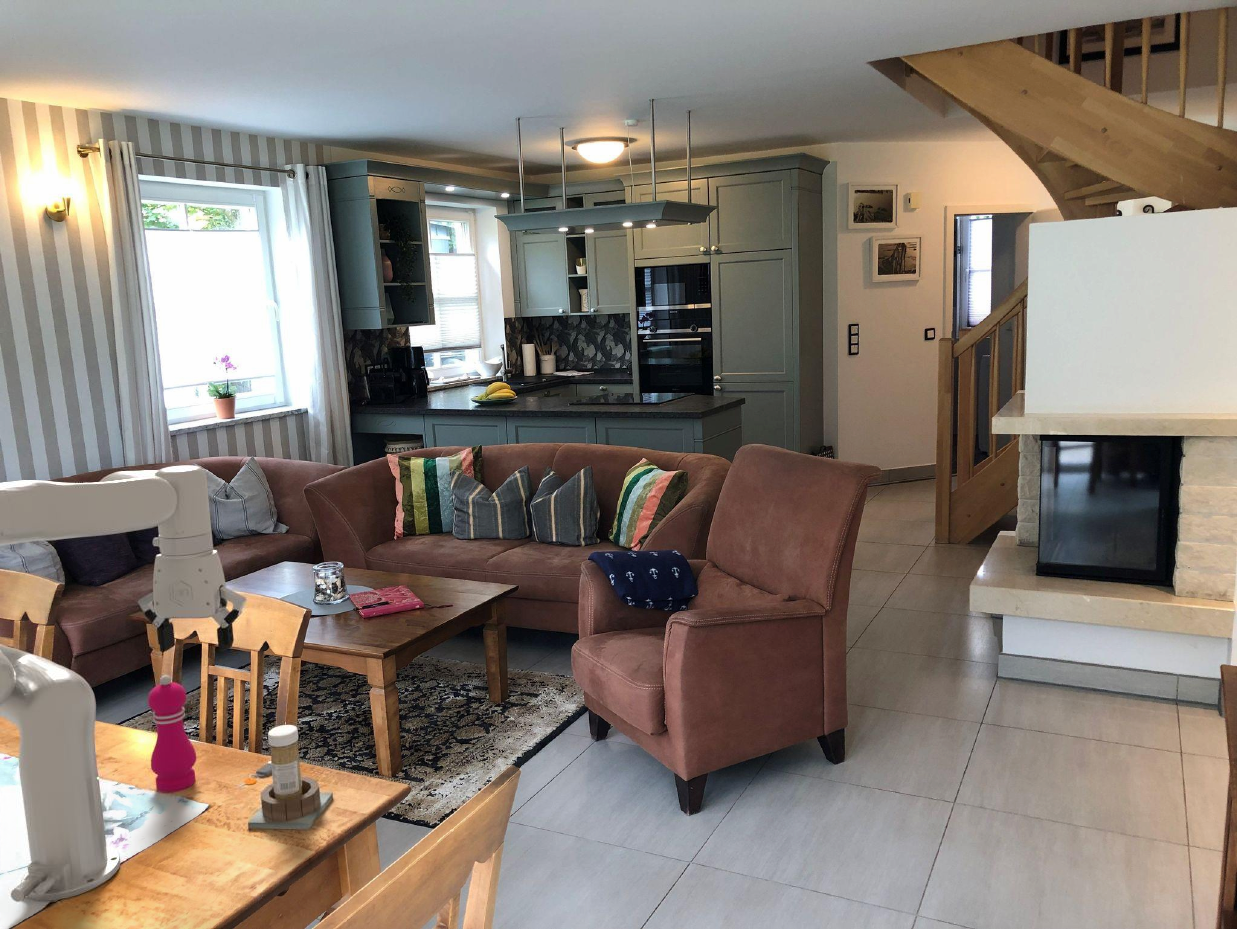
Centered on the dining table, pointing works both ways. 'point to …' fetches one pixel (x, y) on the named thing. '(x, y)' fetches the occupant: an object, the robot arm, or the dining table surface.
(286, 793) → the sprinkles bottle
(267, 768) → the key chain
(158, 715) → the pepper mill
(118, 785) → the dining table surface
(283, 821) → the collar
